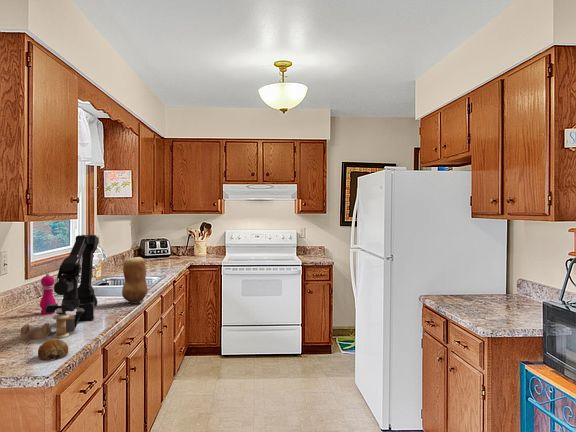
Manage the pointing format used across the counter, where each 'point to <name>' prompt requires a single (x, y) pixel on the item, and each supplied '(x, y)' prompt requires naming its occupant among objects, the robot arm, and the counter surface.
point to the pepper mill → (47, 293)
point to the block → (70, 323)
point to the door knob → (61, 326)
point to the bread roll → (53, 349)
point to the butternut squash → (134, 280)
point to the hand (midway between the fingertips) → (70, 327)
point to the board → (35, 332)
